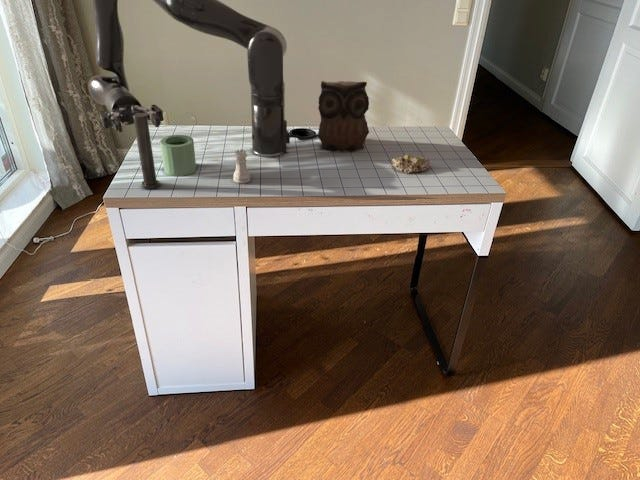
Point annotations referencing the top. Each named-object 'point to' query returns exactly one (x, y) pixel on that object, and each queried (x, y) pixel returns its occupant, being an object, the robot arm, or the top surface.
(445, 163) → the top surface
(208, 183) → the top surface
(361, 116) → the owl
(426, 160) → the mineral rock
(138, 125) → the rod
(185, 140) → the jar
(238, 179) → the rook chess piece
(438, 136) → the top surface
